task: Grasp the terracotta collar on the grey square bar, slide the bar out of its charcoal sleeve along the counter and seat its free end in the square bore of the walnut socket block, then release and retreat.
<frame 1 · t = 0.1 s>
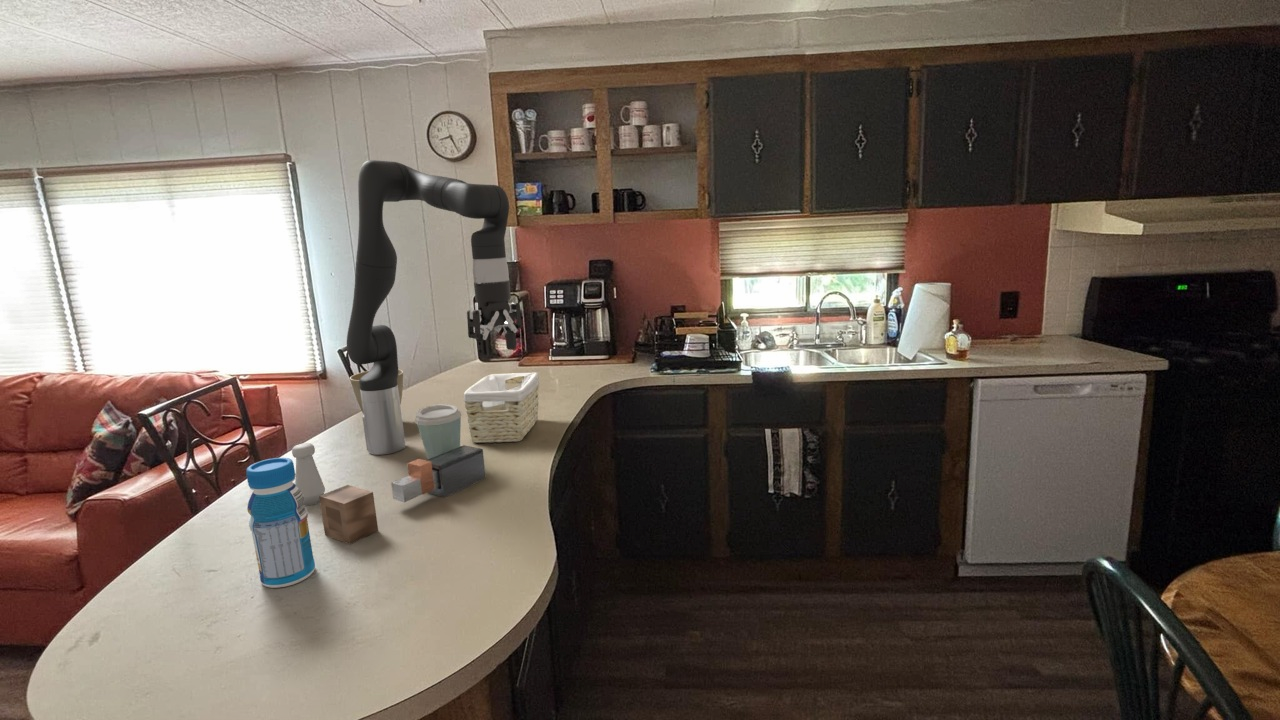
hand: (498, 353, 142), 29 cm above the counter, fingers open, 8 cm apart
salt shaker: (311, 502, 139), on the counter
grey square bar: (437, 469, 139), point 5 cm above the counter, slide at 0.0 cm
beverage bottle: (289, 577, 108), on the counter
plant pot: (383, 426, 194), on the counter
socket: (348, 513, 122), on the counter
sleeve: (449, 488, 142), on the counter
storage basket: (507, 432, 183), on the counter
disposable coffee cup: (444, 469, 155), on the counter
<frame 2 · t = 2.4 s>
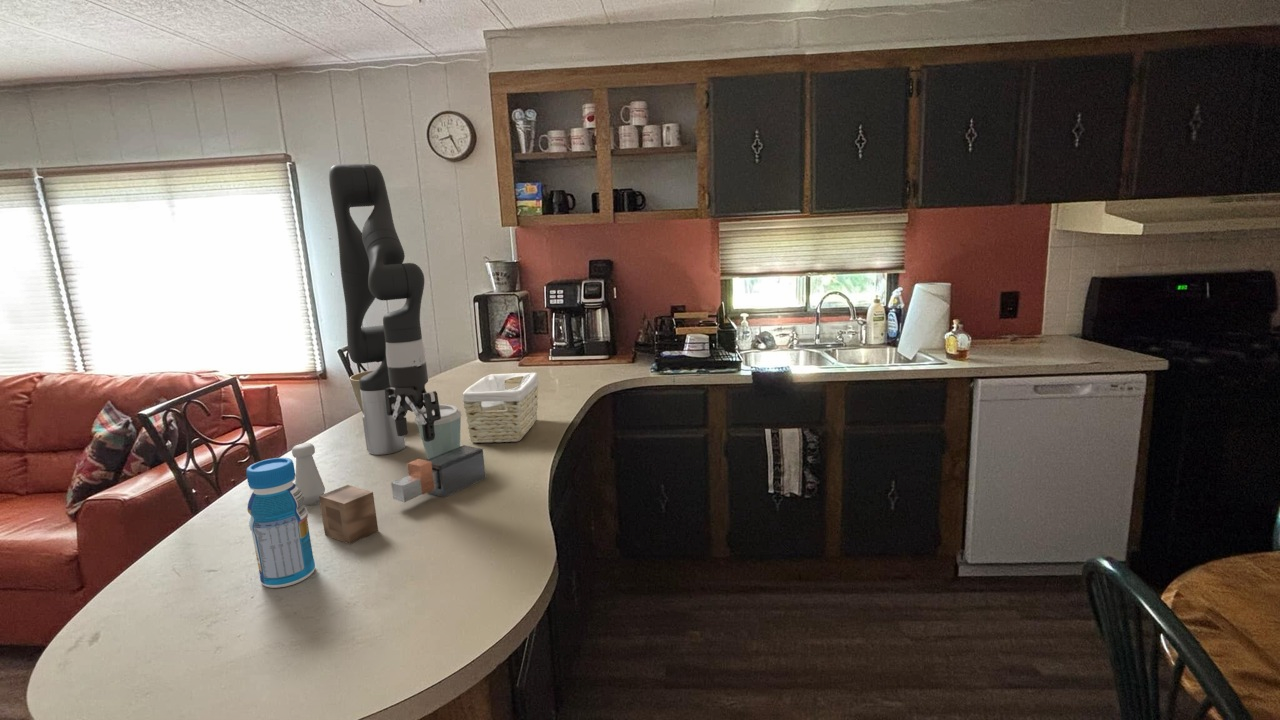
hand: (416, 438, 134), 14 cm above the counter, fingers open, 8 cm apart
nothing on the counter moved.
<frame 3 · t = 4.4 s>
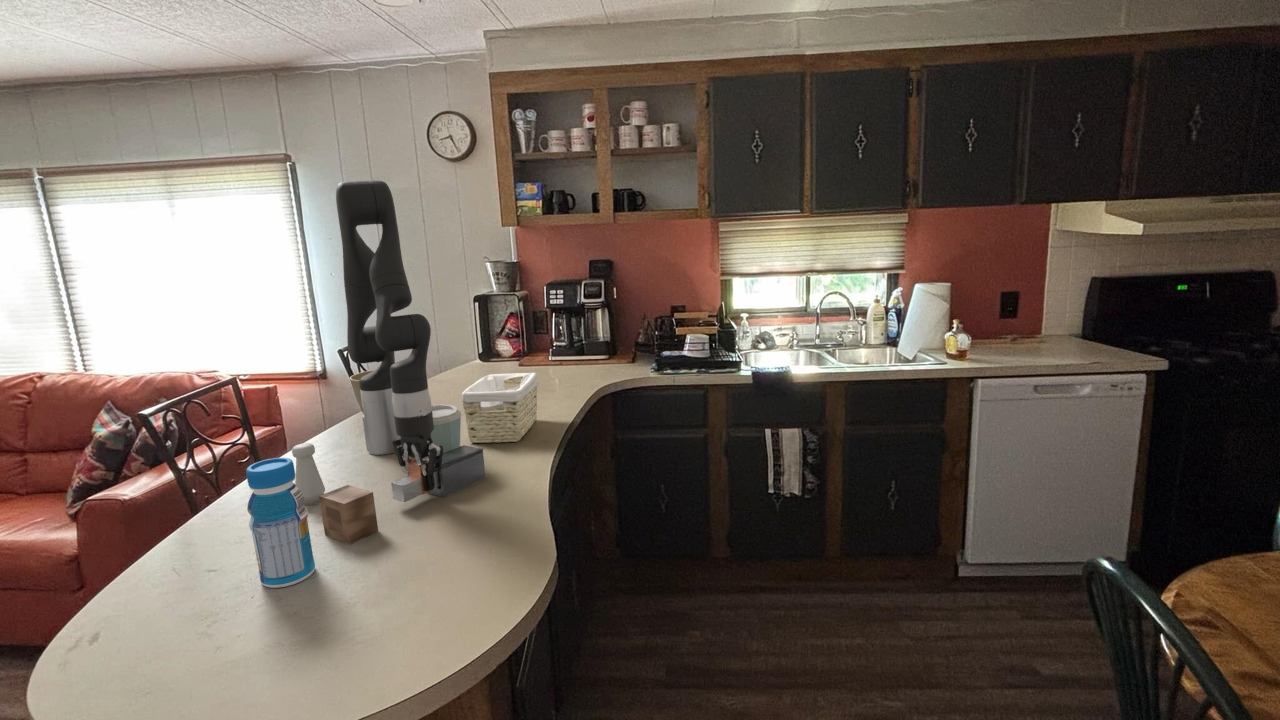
hand: (422, 487, 136), 3 cm above the counter, fingers closed on grey square bar, 4 cm apart
grey square bar: (437, 469, 139), point 5 cm above the counter, slide at 0.0 cm, touching gripper
everything else where it was.
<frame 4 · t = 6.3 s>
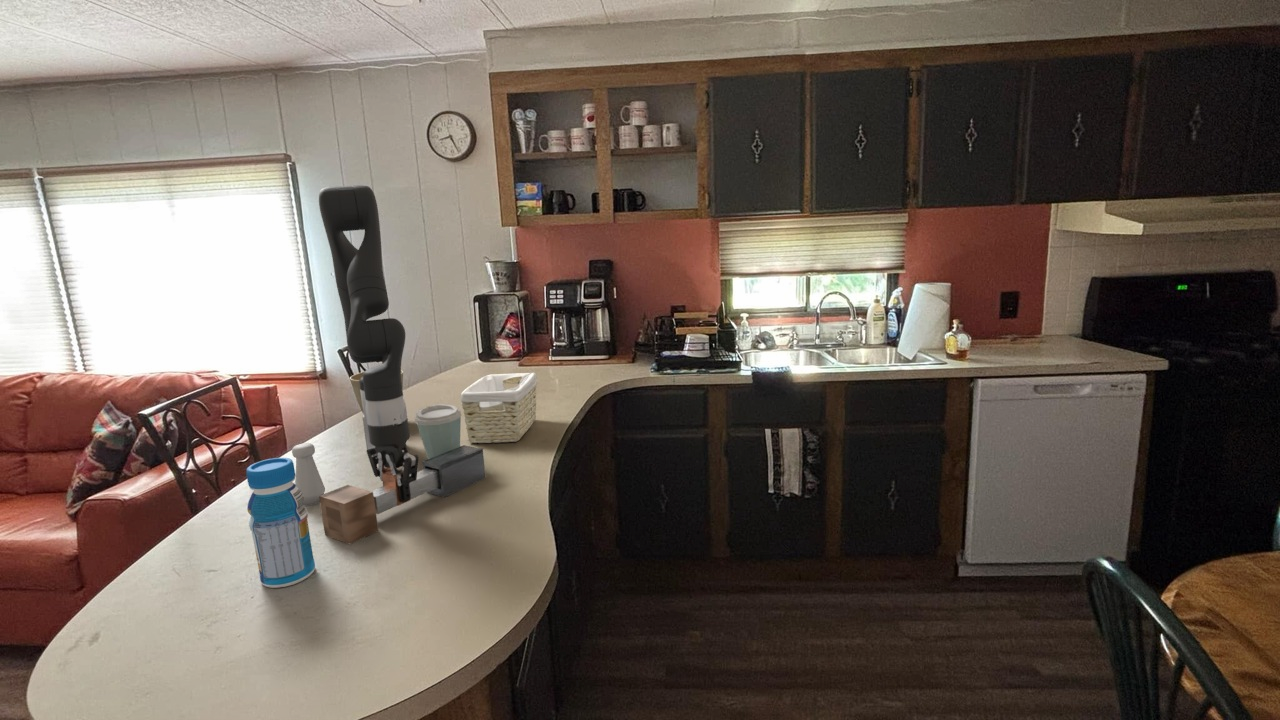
hand: (397, 498, 131), 3 cm above the counter, fingers closed on grey square bar, 4 cm apart
grey square bar: (414, 479, 134), point 5 cm above the counter, slide at 6.2 cm, touching gripper
everything else where it was.
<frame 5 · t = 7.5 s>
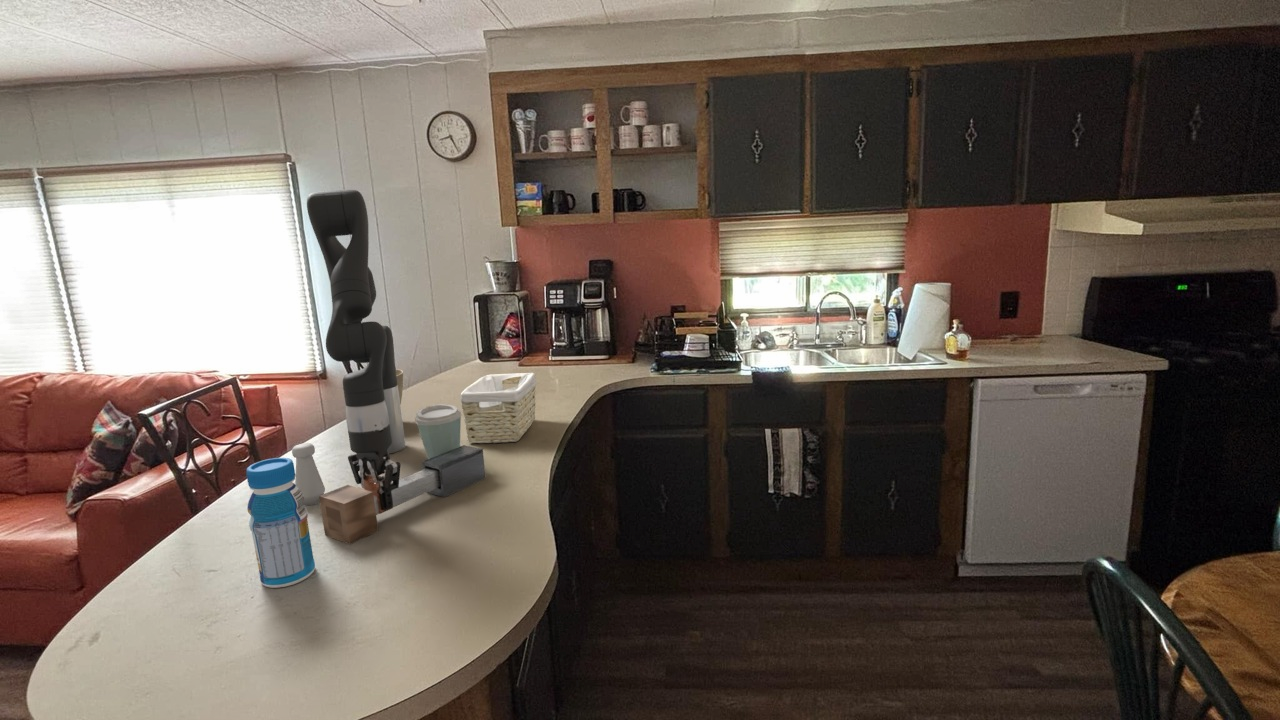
hand: (380, 506, 128), 3 cm above the counter, fingers closed on grey square bar, 4 cm apart
grey square bar: (397, 486, 131), point 5 cm above the counter, slide at 10.4 cm, touching gripper
everything else where it was.
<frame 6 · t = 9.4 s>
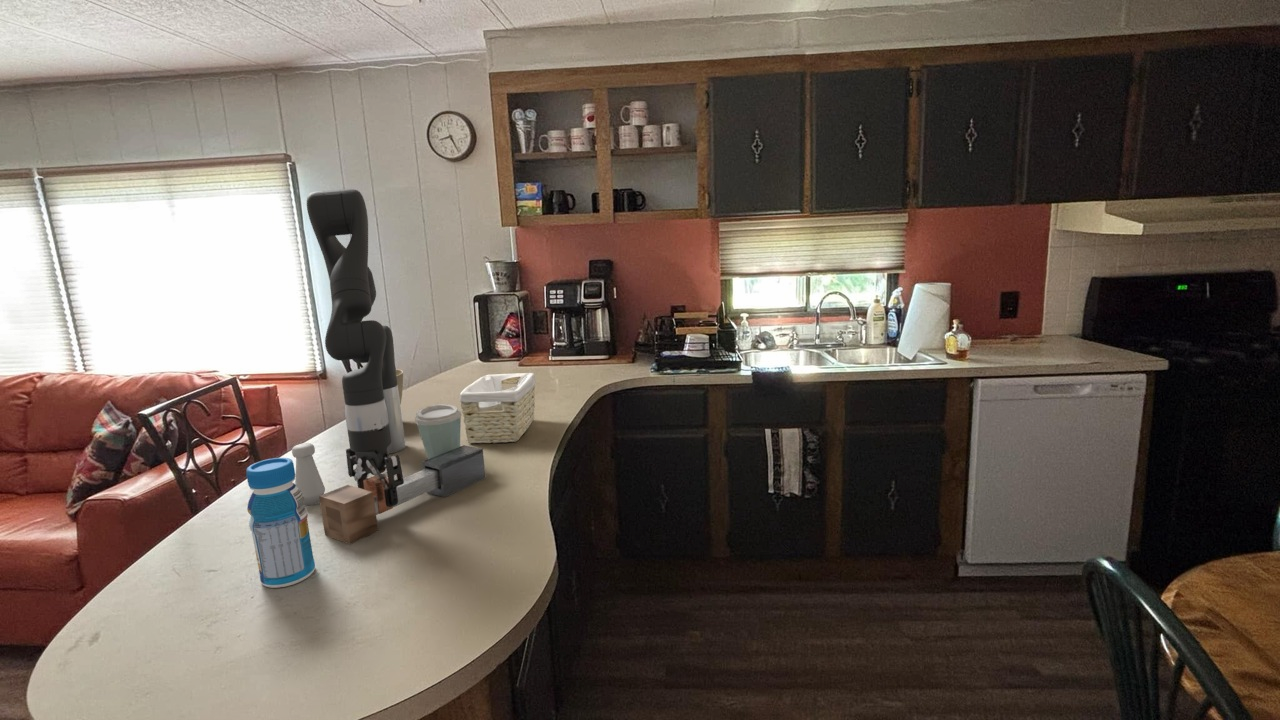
hand: (378, 501, 127), 4 cm above the counter, fingers open, 8 cm apart
grey square bar: (397, 486, 131), point 5 cm above the counter, slide at 10.4 cm
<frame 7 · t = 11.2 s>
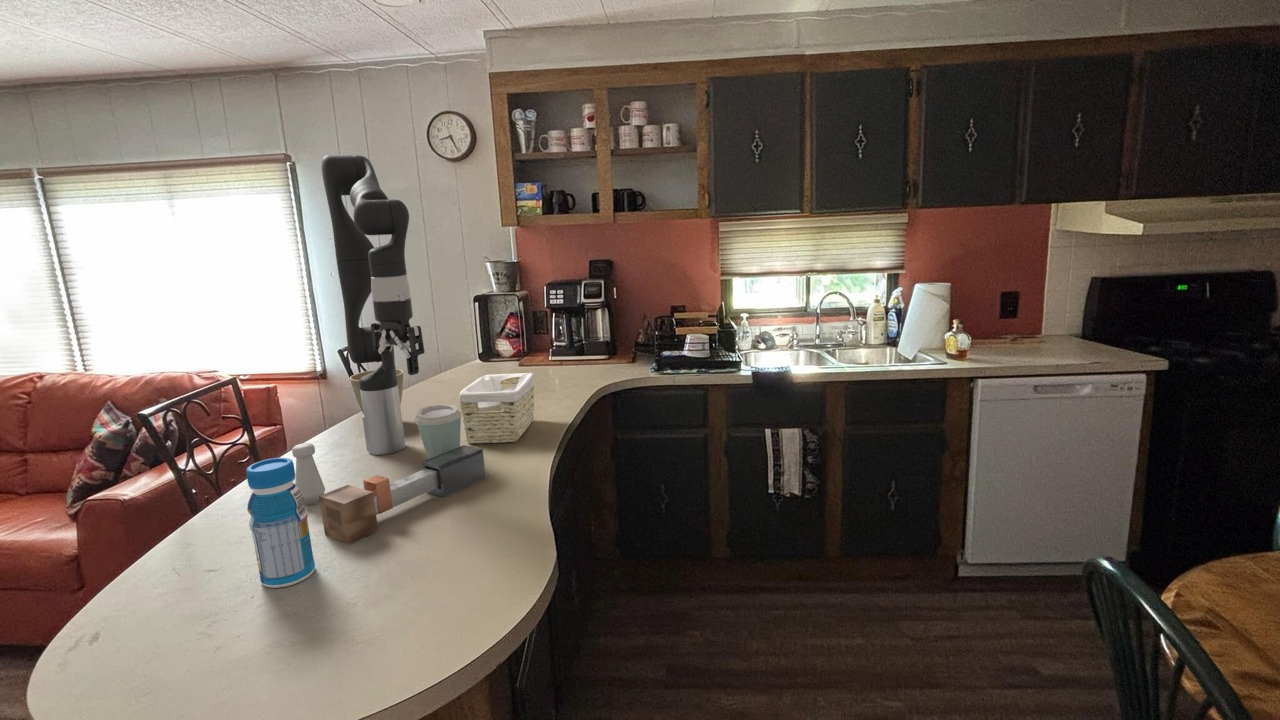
hand: (401, 372, 138), 27 cm above the counter, fingers open, 8 cm apart
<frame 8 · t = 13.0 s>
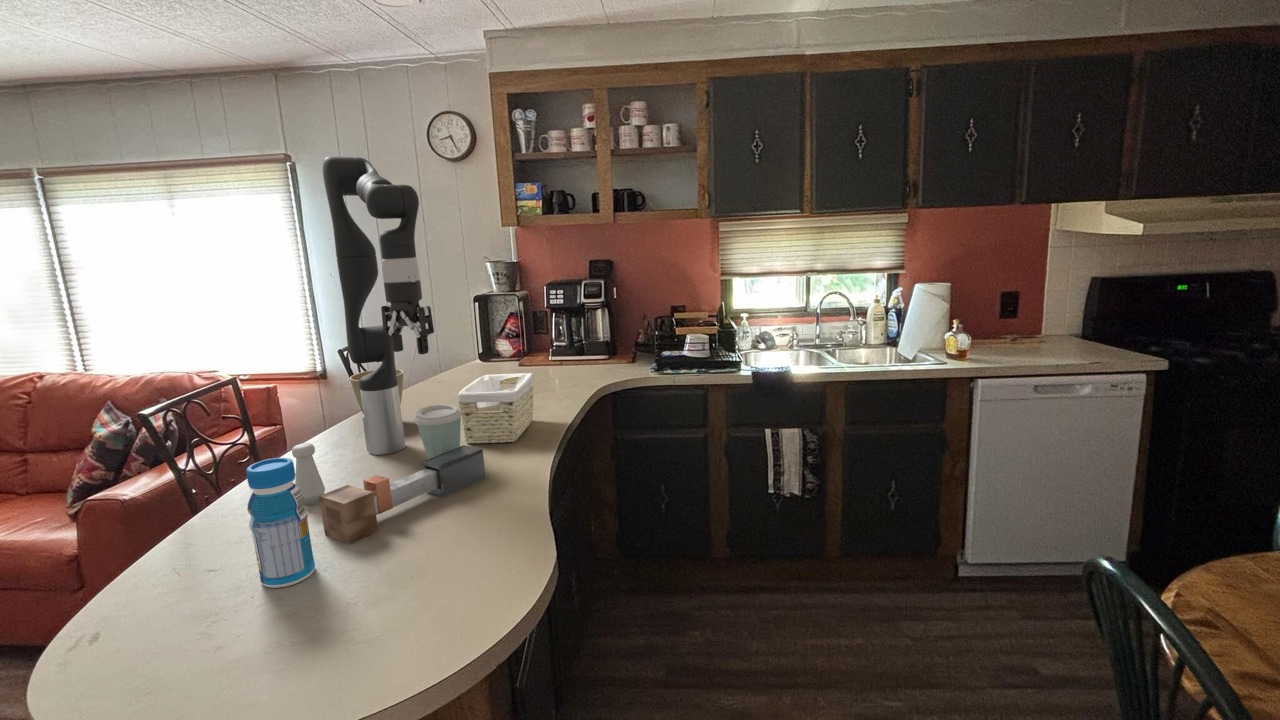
hand: (410, 352, 142), 30 cm above the counter, fingers open, 8 cm apart
at the end: grey square bar slide at 10.4 cm; the gripper is holding nothing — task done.
